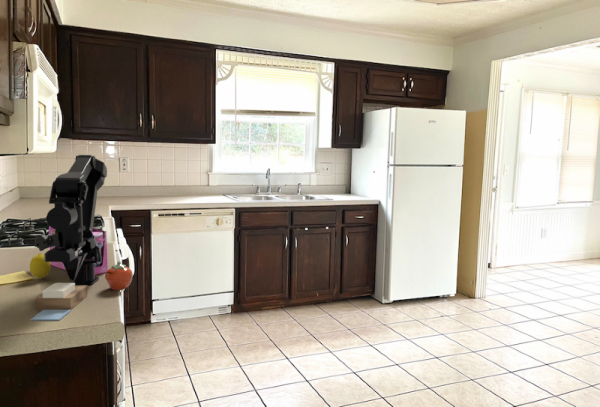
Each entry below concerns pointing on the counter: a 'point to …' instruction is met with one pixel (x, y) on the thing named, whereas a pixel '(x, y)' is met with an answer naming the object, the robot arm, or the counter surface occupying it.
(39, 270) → the lemon
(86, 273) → the robot arm
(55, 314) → the mat
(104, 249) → the gum box
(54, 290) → the white rectangular block
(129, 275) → the tomato
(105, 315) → the counter surface
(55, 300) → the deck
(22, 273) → the counter surface
